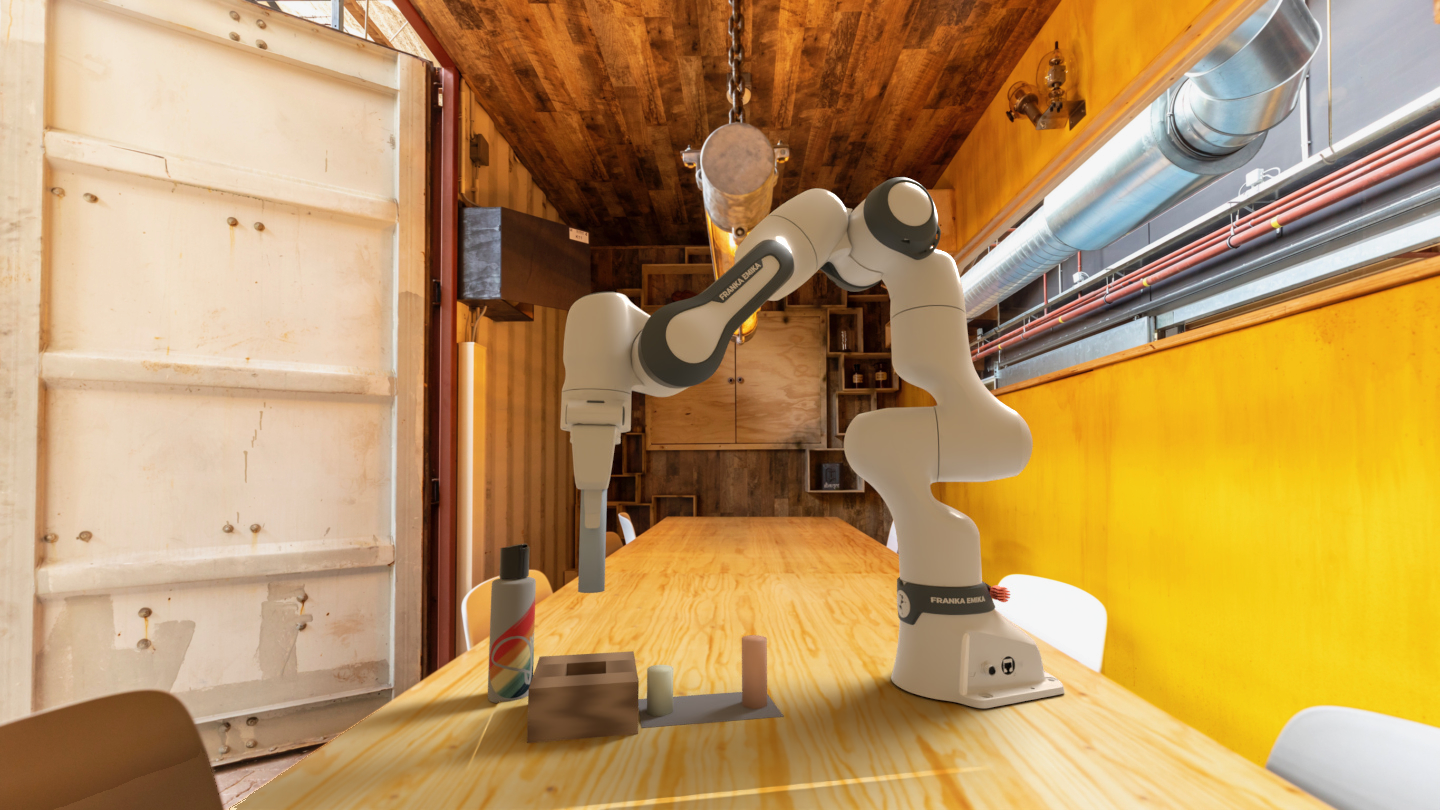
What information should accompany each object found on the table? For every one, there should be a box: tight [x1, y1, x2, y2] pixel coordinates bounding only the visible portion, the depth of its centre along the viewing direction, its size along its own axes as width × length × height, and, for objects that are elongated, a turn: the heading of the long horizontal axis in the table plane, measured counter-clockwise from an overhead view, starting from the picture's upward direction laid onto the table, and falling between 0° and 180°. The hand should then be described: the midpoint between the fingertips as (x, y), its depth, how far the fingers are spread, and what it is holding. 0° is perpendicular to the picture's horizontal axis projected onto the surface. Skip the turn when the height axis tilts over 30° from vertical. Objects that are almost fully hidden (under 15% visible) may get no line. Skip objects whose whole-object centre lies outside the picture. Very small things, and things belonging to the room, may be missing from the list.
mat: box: [638, 691, 785, 729], centre depth 76 cm, size 17×9×1 cm, turn 101°
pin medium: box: [741, 634, 768, 709], centre depth 78 cm, size 3×3×8 cm
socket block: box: [526, 650, 640, 744], centre depth 74 cm, size 12×12×6 cm
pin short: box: [646, 664, 674, 716], centre depth 76 cm, size 3×3×5 cm
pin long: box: [577, 489, 608, 594], centre depth 76 cm, size 3×3×14 cm
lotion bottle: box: [487, 543, 537, 704], centre depth 83 cm, size 6×6×20 cm
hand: (592, 527), depth 76 cm, fingers closed on pin long, 3 cm apart
